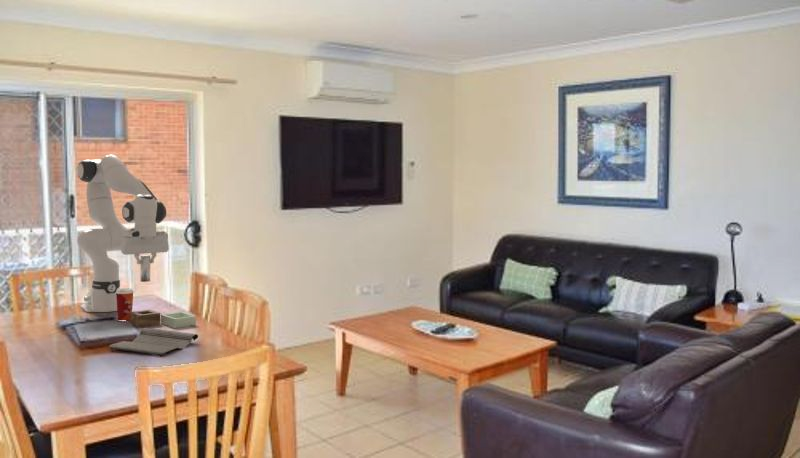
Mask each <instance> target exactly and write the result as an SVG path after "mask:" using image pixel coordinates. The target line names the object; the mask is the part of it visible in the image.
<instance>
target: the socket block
mask: <svg viewBox="0 0 800 458" xmlns="http://www.w3.org/2000/svg"><path fill="white" fill-rule="evenodd" d="M130 323H131V324H130ZM129 324H130V325H132V326H136V327H139V328H143V327H144V328H146V327H152V326H157V325H161V313H160V312H158V311H155V310H152V309H146V310H139V311H138V310H137V311H132V312H130V321H129Z"/></svg>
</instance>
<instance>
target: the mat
mask: <svg viewBox="0 0 800 458" xmlns="http://www.w3.org/2000/svg"><path fill="white" fill-rule="evenodd" d="M197 339H199V335H198V334H197V333H192V332H191V333H190V332H181V331H176V330H175V331H174V330H167V329H157V328H150V327H149V328H148V327H144V328H142V329H141V330H140V332H139V334H138V335H137V336H136V337H135V338H134V339H133V340H132V341H127V340H122V341H119V342H116V343H112V344H110V345H109V346H108V349H111V352H112V353H113V352H114V351H113V350H119V351H125V352H126V351H127V352H134V353H141V354H148V355H155V356H160V357H163V356H165V354H166V353H169V352H171V351H173V350H184V349H186V348H187V347H188V346H189V344H191V342H192V341H195V340H197Z"/></svg>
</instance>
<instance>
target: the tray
mask: <svg viewBox="0 0 800 458" xmlns="http://www.w3.org/2000/svg"><path fill="white" fill-rule="evenodd" d="M195 324H196V325H197V316H196V315H194V314H190V313H187V312H184V311H177V312H169V313H163V314H160V325H165V326H167V327H170V328H172V329H178V328H186V327H191V326H190V325H193V326H196V325H195Z"/></svg>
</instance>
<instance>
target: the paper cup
mask: <svg viewBox="0 0 800 458" xmlns="http://www.w3.org/2000/svg"><path fill="white" fill-rule="evenodd" d="M115 293H116V298H117V311H116V312H117V313H116V314H117V321H118V320H126V321H128V322H130V312H133V302H134V293H135V290H134V289H133V288H130V287H128V288H127V287H124V288H123V287H122V288H120V289H117V290H116V292H115Z"/></svg>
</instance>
